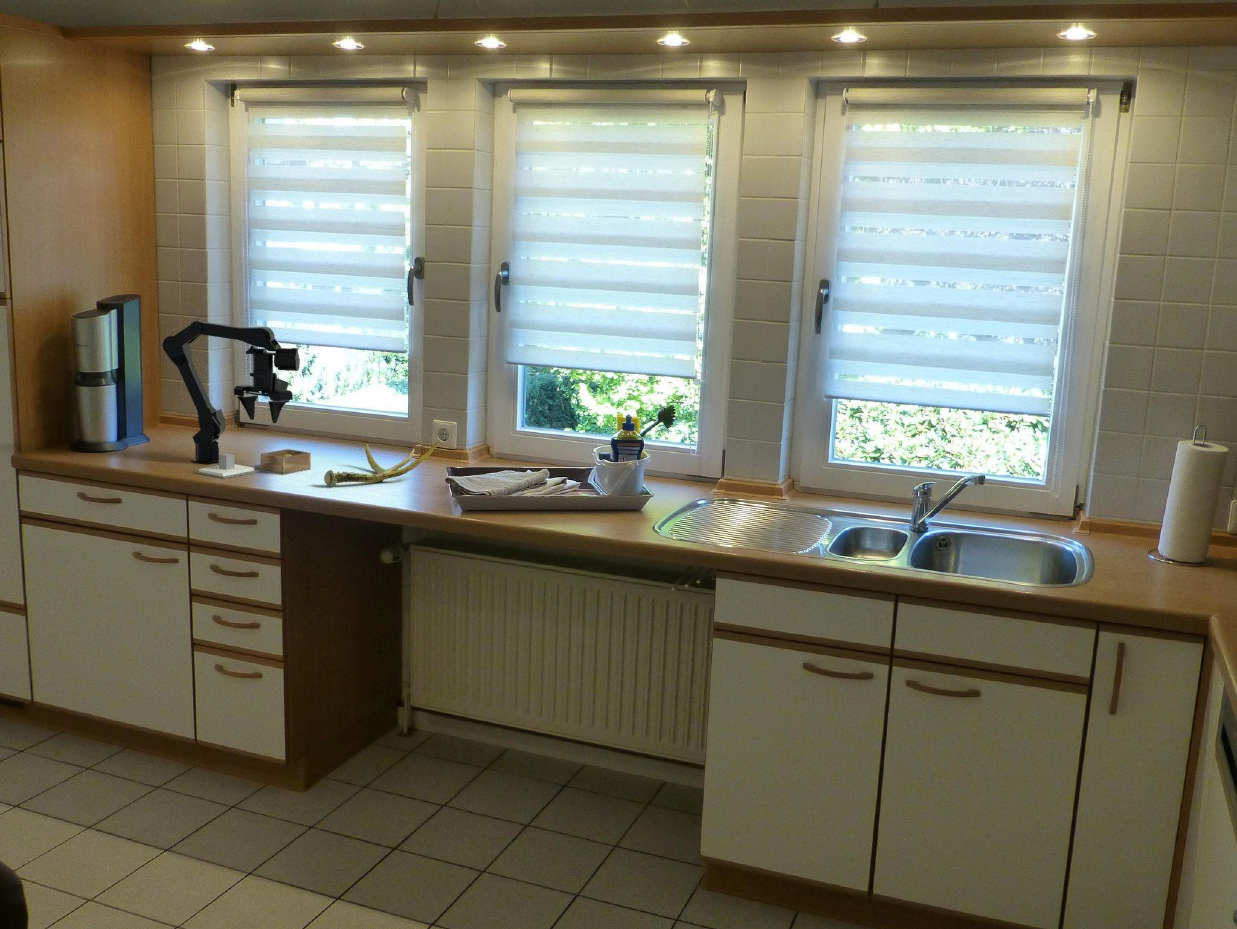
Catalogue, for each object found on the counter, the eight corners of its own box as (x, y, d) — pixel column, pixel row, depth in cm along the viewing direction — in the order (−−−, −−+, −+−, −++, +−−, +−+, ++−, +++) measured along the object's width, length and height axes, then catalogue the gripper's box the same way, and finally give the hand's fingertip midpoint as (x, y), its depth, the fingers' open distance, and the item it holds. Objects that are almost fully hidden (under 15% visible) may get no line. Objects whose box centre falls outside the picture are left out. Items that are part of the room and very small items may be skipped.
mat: (194, 472, 311) (194, 471, 311) (229, 466, 323) (229, 465, 323) (224, 478, 306) (224, 477, 306) (259, 472, 317) (259, 470, 317)
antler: (321, 496, 303) (317, 462, 301) (368, 467, 334) (365, 436, 331) (412, 495, 298) (409, 461, 295) (452, 466, 328) (449, 434, 326)
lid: (198, 471, 311) (198, 455, 310) (230, 466, 321) (230, 450, 321) (222, 476, 307) (222, 459, 306) (254, 470, 317) (254, 454, 316)
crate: (260, 470, 320) (260, 453, 319) (288, 465, 329) (288, 448, 328) (283, 474, 316) (283, 457, 315) (310, 469, 325) (310, 452, 324)
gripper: (306, 370, 327) (306, 422, 329) (260, 365, 335) (260, 415, 338) (278, 373, 317) (278, 426, 320) (232, 367, 325) (232, 418, 328)
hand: (263, 421), depth 327 cm, fingers open, 9 cm apart
